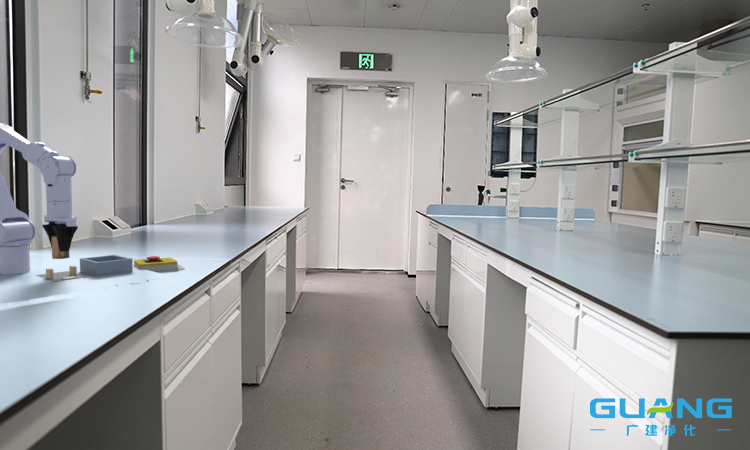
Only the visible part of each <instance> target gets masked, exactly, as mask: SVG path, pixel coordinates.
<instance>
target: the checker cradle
mask: <svg viewBox="0 0 750 450" xmlns="http://www.w3.org/2000/svg"><path fill="white" fill-rule="evenodd" d="M68 267H69V268H68V269H69V270H67V271H58V272H54V269H53V268H50V267H48V268H45V273H42V274H36V275H35V276H37V277H39V278H42V279H46V280H48V281H51V282H55V283H57V282H65V281H70V280H71V281H72V280H76V279H77V280H79V279H85V278H87V276H85V275H82V274H78V272H77V271H78V269H77V268H78V267H77V266H76V265H69V266H68Z"/></svg>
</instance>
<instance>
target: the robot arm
mask: <svg viewBox="0 0 750 450" xmlns="http://www.w3.org/2000/svg"><path fill="white" fill-rule="evenodd" d="M7 146H8V147H10V148H12V149H14V150H16V151H17V152H20V153H21V155H22V158H23V159H24V160H25V161H26V162H28V163H30V164H31V165H33V166H34V167H36V168H37V169H39V171H40V173H41V175H42V177H43V182H44V184H45V192H46V193H45V194H46V195H45V197H46V214H45V215H44V216H43V217H44V218H43V220H44V223H47V224H42V228H43V229H44V232H45V233H46V235H47V237H48V240H49V244H50V247H51V248H52V238H51V236H55V235H56V237H57V241H58V247H59V251H60V252H65V251H69V252H70V249H71V247H72V246H71V245H72V242H73V238H74V236H75V233H76V231H77V230H78V227H79V226H78V225H77V219H78V216H77V215H76V216H75V215H73V203H72V201H73V200H72V199H73V198H72V197H73V196H72V192H73V191H72V177H73V176H75V174H76V172H77V164H76V162H75V160H74V159H72V157H70V156H68V155H67V156H66V155H65V156H61V155H59V153H58V152H57V151H55V150H51V149H50V148H48V147H47V146H46V144H45V143H44V142H41V141H32V142H30V141H29V140H27V139H26V138H25V137H23V136H22V135H21V134H19V133H18V132H16V131H15V130H14V128H13V126H10V125H8V124H6V123H5V122H0V155H1V154H2V153H3V151H4V150H5V149H6V148H7ZM6 183H7V182H6V180H5V178H4V176H3V174H2V171H1V170H0V275H8V276H9V275H20V274H25V273H30V271H31V263H30V261H31V260H30V257H31V256H30V245H31V244H32V241H34V239H35V237H36V236H37V235H36V234H37V228H36V226H35V224H34V223H33V222H32V220H30V218H29V216H28V214H26V213H25V212H23V211H21V210H19V209H18V208H17V207H16V204H15V203H14V200H13V197H12V194H11V192H10V190H9V188H8V186H7V184H6Z"/></svg>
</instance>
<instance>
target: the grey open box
mask: <svg viewBox="0 0 750 450" xmlns="http://www.w3.org/2000/svg"><path fill="white" fill-rule="evenodd" d="M133 267H134V264H133V258H131V257H126V256H122V255H119V254H118V255H117V254H110V255H101V256H91V257H83V258H79V272H80V273H84V274H86V275H89V276H93V277H104V276H111V275H117V274H118V275H119V274H124V273H130V272H131V273H132V272H133Z"/></svg>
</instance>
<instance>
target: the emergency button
mask: <svg viewBox="0 0 750 450" xmlns="http://www.w3.org/2000/svg"><path fill="white" fill-rule="evenodd" d="M133 267H134V268H137V269H138V270H146V271H148V272H149V271H150V272H152V273H153V272H154V273H160V272H170V271H183V270H186V268H185V267H183V266H182V265H180V264H178V260H176V259H174V258H172V257H160V256H158V255H154V256H151V255H150V256H146V258H145V259H142V258H141V259H135V260H134V261H133Z"/></svg>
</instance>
